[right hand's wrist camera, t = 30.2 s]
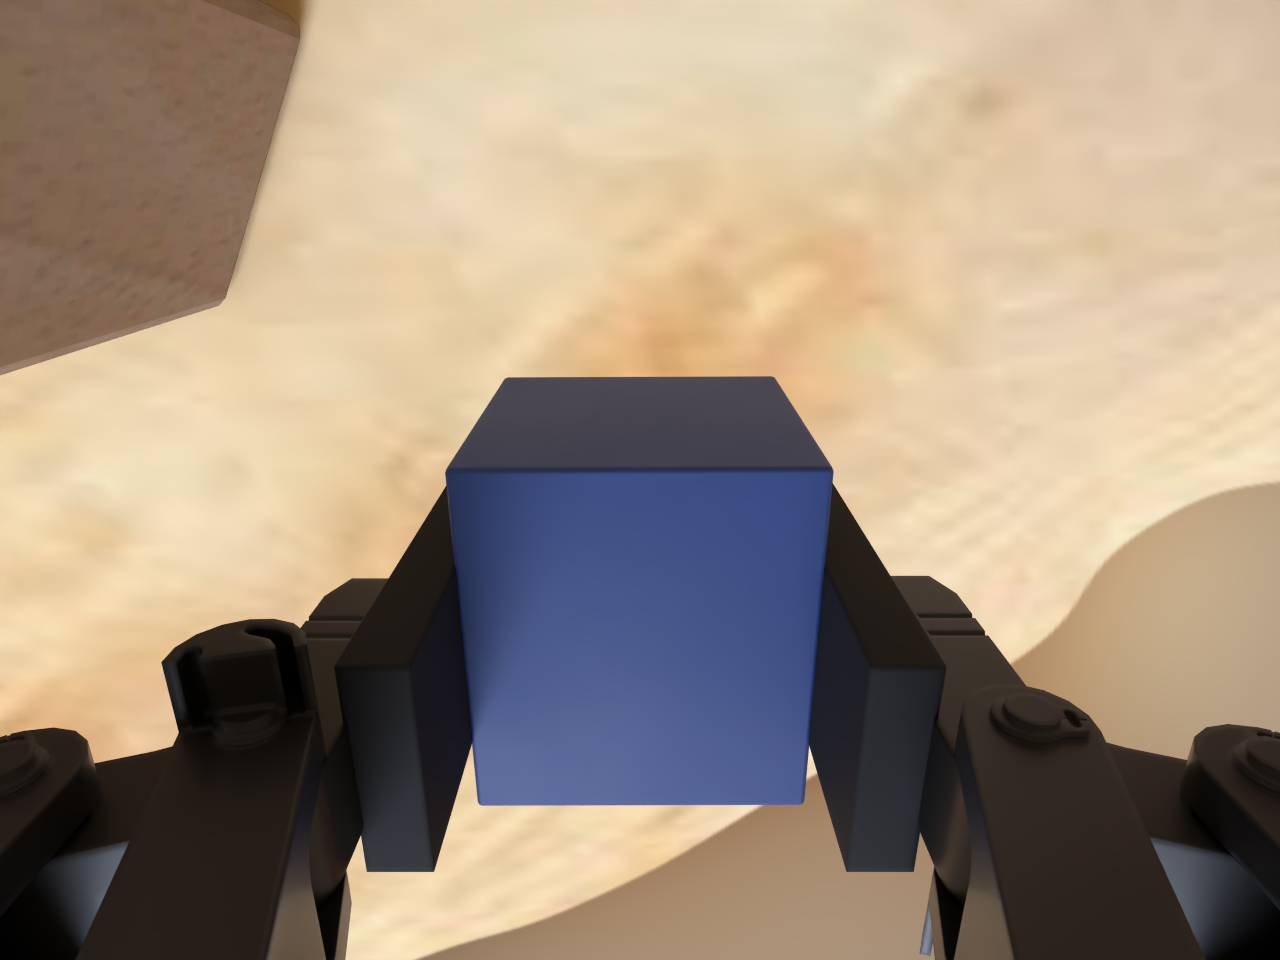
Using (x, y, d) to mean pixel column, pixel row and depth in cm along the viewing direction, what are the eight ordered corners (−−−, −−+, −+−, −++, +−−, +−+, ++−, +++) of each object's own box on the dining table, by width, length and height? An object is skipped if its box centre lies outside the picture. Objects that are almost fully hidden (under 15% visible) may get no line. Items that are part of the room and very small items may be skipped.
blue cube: (521, 633, 16) (477, 807, 11) (504, 376, 14) (443, 469, 10) (760, 633, 16) (804, 806, 11) (775, 375, 14) (835, 467, 10)
